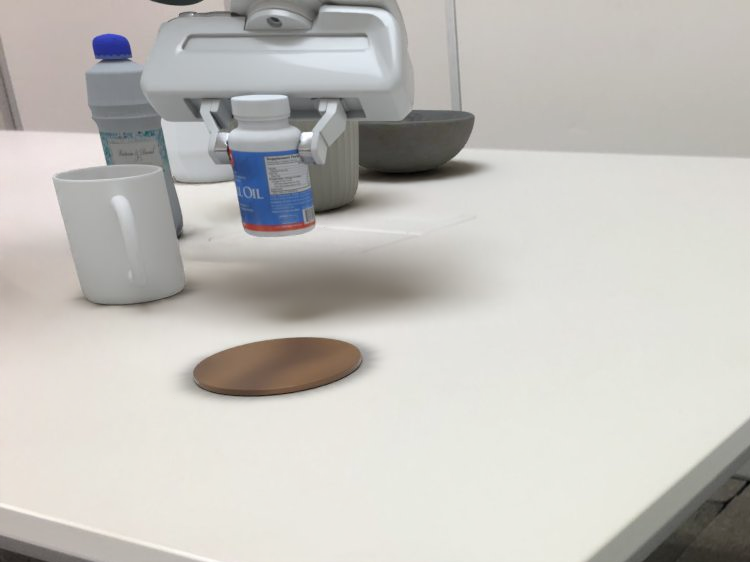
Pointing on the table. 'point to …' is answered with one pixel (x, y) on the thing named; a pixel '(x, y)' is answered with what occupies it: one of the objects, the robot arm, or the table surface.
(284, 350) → the coaster
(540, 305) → the table surface
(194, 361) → the table surface
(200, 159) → the cup
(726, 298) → the table surface
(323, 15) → the robot arm
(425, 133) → the bowl
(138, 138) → the bottle
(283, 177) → the pill bottle
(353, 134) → the canister
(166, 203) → the cup
